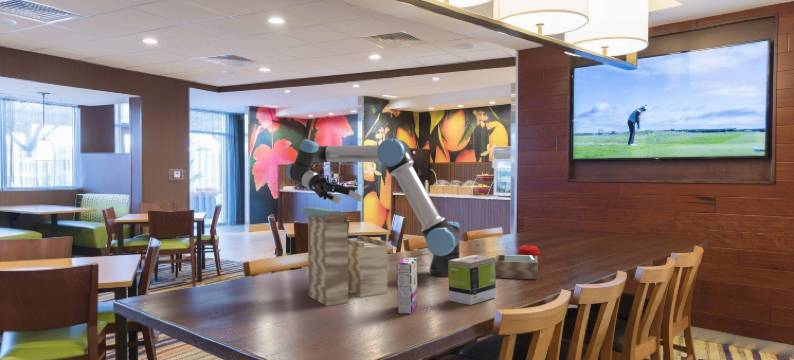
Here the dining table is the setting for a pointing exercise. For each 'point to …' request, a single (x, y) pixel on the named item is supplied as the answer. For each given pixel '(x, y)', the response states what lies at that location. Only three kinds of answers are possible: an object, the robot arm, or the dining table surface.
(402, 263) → the candy bar box
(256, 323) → the dining table surface
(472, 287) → the tea box
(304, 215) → the bar
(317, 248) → the stand
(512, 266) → the caddy
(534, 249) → the apple
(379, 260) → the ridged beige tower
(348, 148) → the robot arm
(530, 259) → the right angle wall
